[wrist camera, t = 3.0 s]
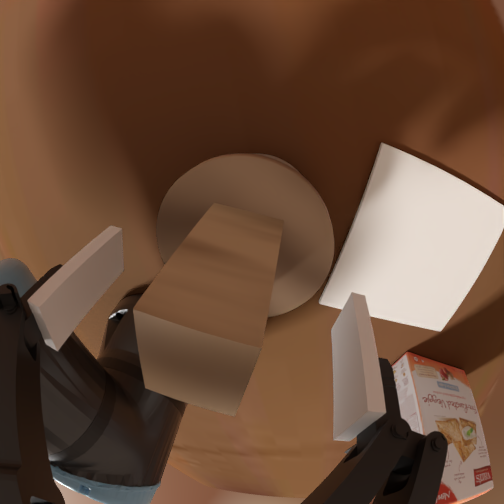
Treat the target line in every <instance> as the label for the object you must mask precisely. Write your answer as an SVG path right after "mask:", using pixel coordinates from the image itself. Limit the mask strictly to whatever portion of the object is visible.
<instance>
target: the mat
mask: <svg viewBox="0 0 504 504" xmlns="http://www.w3.org/2000/svg"><path fill="white" fill-rule="evenodd" d="M503 228H504V206H503V205H502V204H500V203H499V202H497V201H496V200H494V199H492V198H491V197H489V196H488V195H486V194H484V193H483V192H481V191H480V190H478V189H476V188H474V187H473V186H471V185H469V184H468V183H466V182H464V181H462V180H460V179H459V178H457V177H455V176H453V175H451V174H449V173H447V172H445V171H443V170H442V169H440V168H438V167H436V166H434V165H432V164H429V163H427V162H425V161H423V160H421V159H419V158H417V157H415V156H412V155H410V154H408V153H406V152H403V151H401V150H399V149H396V148H394V147H392V146H389V145H387V144H384V143H382V142H381V145H380V148H379V151H378V154H377V157H376V160H375V163H374V166H373V169H372V172H371V175H370V178H369V180H368V183H367V186H366V189H365V192H364V194H363V197H362V200H361V202H360V205H359V208H358V210H357V213H356V215H355V218H354V221H353V223H352V226H351V228H350V231H349V233H348V236H347V238H346V240H345V243H344V245H343V248H342V250H341V252H340V255H339V257H338V259H337V262H336V264H335V266H334V269H333V271H332V273H331V275H330V278H329V280H328V282H327V284H326V287H325V289H324V291H323V293H322V295H321V297H320V300H319V304H322V305H326V306H330V307H334V308H338V309H343V308H344V306H345V304H346V302H347V300H348V298H349V296H350V294H351V293H352V292H353V293H357V294H361V295H365V297H366V302H367V306H368V310H369V315H370V316H372V317H376V318H381V319H385V320H390V321H394V322H399V323H403V324H408V325H412V326H417V327H422V328H426V329H431V330H436V331H441V330H442V329H443V328H444V326H445V325H446V324H447V322H448V321H449V320H450V318H451V317H452V315H453V314H454V313H455V311H456V310H457V308H458V307H459V305H460V304H461V303H462V301H463V300H464V298H465V297H466V295H467V293H468V292H469V290H470V289H471V287H472V286H473V284H474V282H475V281H476V279H477V277H478V276H479V274H480V272H481V271H482V269H483V267H484V265H485V264H486V262H487V260H488V258H489V256H490V254H491V253H492V251H493V249H494V247H495V245H496V243H497V241H498V239H499V237H500V235H501V233H502V231H503Z"/></svg>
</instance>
